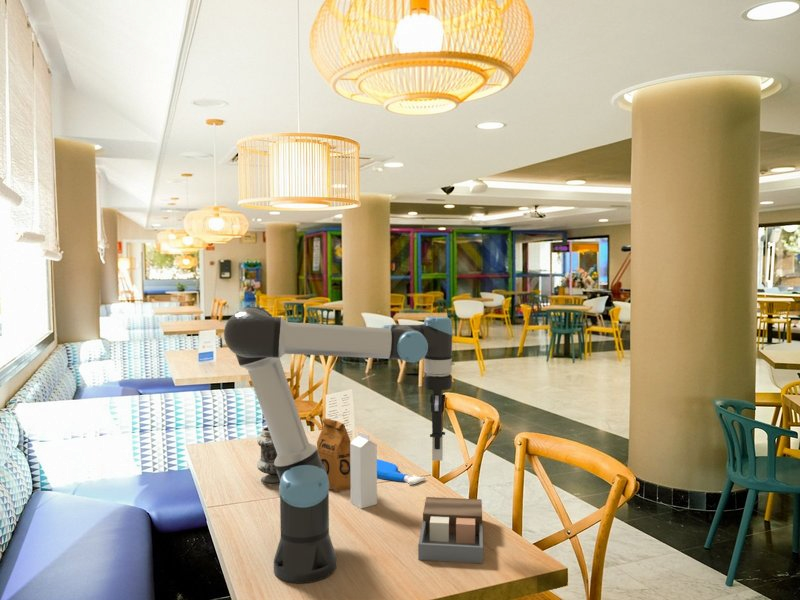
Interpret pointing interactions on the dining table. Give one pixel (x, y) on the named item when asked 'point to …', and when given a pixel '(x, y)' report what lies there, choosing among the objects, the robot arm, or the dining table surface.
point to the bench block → (453, 511)
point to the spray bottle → (394, 473)
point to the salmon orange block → (465, 530)
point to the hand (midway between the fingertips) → (437, 459)
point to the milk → (363, 471)
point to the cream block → (439, 529)
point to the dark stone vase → (267, 458)
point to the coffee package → (335, 454)
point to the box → (450, 548)
